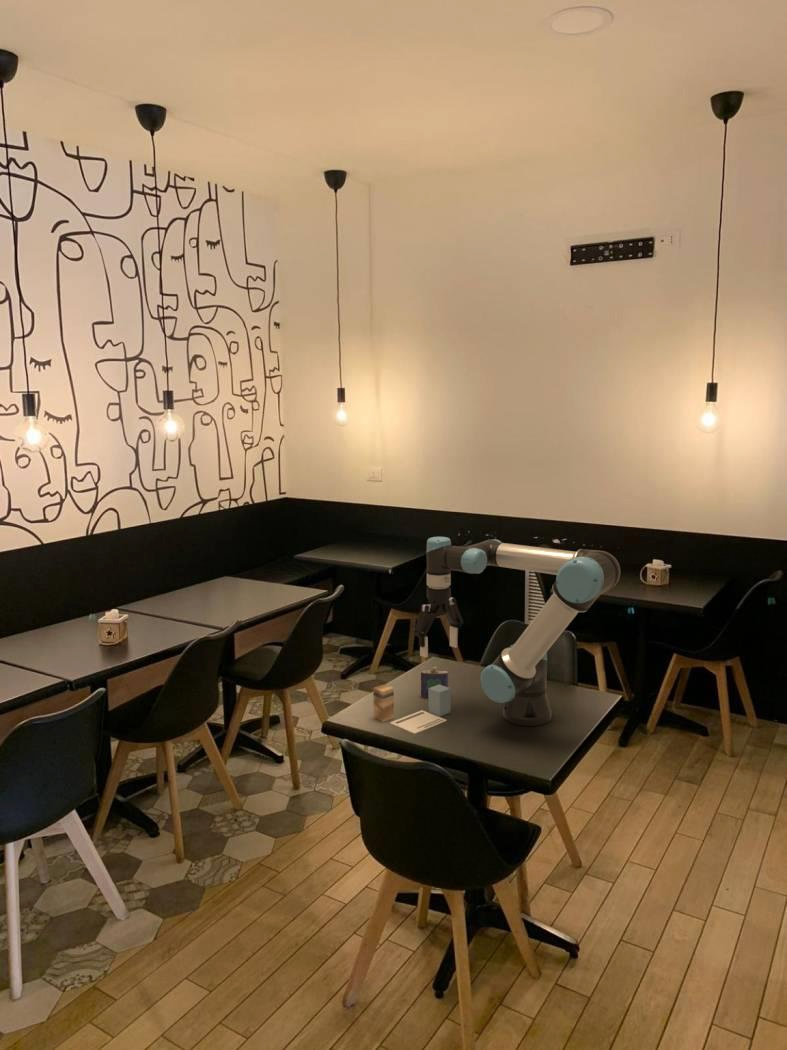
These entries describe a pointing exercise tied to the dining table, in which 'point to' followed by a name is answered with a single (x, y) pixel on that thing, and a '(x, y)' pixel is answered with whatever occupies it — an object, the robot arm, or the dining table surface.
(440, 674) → the flask
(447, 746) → the dining table surface
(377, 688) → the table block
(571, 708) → the dining table surface
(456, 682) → the dining table surface
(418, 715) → the menu card
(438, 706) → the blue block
